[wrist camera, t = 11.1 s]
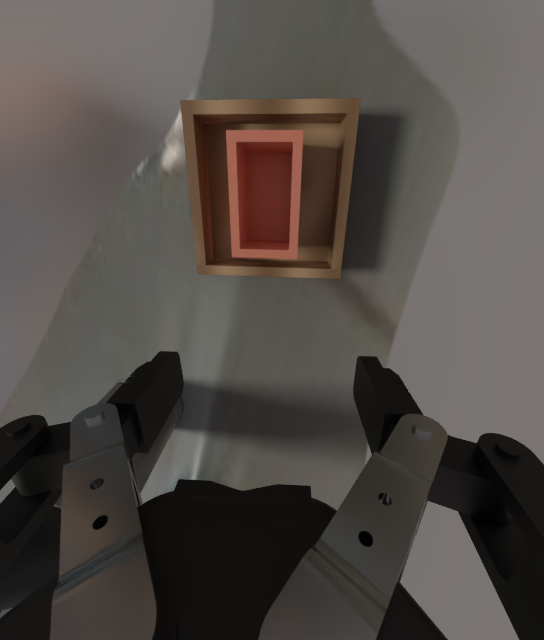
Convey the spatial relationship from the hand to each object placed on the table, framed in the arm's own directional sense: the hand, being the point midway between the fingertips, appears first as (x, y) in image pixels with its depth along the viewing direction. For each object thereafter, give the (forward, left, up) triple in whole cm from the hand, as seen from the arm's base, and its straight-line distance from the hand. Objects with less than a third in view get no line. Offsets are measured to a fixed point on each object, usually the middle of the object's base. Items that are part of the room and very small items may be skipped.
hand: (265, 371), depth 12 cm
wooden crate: (-1, +7, -20) cm, 21 cm away
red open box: (-1, +7, -19) cm, 20 cm away
